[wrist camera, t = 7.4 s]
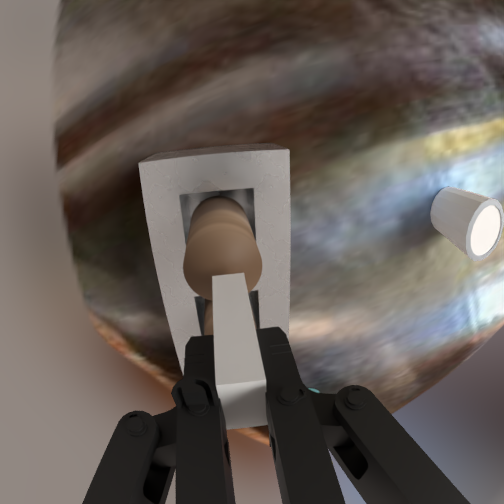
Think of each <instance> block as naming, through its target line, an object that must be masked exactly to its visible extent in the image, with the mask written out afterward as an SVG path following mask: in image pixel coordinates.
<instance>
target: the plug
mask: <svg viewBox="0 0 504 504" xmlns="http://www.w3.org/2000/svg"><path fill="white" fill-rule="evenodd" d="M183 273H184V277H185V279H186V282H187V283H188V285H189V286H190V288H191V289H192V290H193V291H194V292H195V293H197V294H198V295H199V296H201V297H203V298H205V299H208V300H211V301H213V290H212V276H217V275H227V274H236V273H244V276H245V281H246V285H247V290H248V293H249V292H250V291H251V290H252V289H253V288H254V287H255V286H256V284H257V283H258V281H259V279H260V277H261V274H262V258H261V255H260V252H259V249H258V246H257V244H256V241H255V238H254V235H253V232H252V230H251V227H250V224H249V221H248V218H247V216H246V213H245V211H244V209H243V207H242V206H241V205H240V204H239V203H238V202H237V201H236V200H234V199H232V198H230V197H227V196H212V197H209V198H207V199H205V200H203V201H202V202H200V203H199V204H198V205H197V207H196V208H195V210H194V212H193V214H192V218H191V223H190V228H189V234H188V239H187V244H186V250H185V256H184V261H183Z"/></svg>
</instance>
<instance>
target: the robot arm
mask: <svg viewBox="0 0 504 504" xmlns="http://www.w3.org/2000/svg"><path fill="white" fill-rule="evenodd" d="M212 290H213V330H214V335H204V336H192V337H190V339H189V341H188V342H187V344H186V345H185V358H184V375H183V379H182V380H180V381H178V382H177V383H176V384H175V386H174V387H173V389H172V392H171V394H172V397H173V399H174V401H175V404H176V407H174V408H173V409H171V410H169V411H167V412H165V413H161V414H158V415H154V416H151V415H150V414H149V413H146V412H144V411H133V412H129V413H128V414H126V415H124V416H123V417H122V418H121V419H120V421H119V422H118V424H117V427H116V429H115V431H114V433H113V435H112V437H111V439H110V442H109V444H108V446H107V448H106V451H105V453H104V455H103V457H102V459H101V462H100V464H99V466H98V468H97V471H96V473H95V475H94V477H93V480H92V482H91V484H90V487H89V489H88V491H87V494H86V496H85V499H84V501H83V503H82V504H165V502H166V498H167V495H168V492H169V488H170V485H171V482H172V479H173V475H174V472H175V469H176V504H236V503H235V496H234V488H233V478H232V469H231V460H230V451H229V442H228V439H227V431H226V429H237V428H247V427H255V426H262V425H268V427H269V439H270V447H271V448H272V453H273V458H274V464H275V469H276V474H277V479H278V484H279V488H280V493H281V498H282V503H283V504H345V501H344V497H343V495H342V491H341V488H340V485H339V482H338V479H337V476H336V472H335V470H334V467H333V463H332V460H331V457H330V454H329V451H330V452H331V453H332V455H333V456H334V458H335V459H336V461H337V462H338V464H339V465H340V466H341V468H342V470H343V471H344V472H345V474H346V475H347V477H348V478H349V479H350V481H351V482H352V484H353V485H354V487H355V488H356V489H357V491H358V492H359V494H360V495H361V496H362V498H363V499H364V501H365V502H366V503H367V504H470V503H469V502H468V501H467V499H466V498H465V497H464V496H463V495H462V494H461V493H460V492H459V491H458V490H457V488H456V487H455V486H454V485H453V484H452V483H451V481H450V480H449V479H448V478H447V477H446V476H445V475H444V474H443V472H442V471H441V470H440V469H439V468H438V467H437V466H436V464H435V463H434V462H433V461H432V460H431V459H430V458H429V457H428V455H427V454H426V453H425V452H424V451H423V450H422V449H421V448H420V446H419V445H418V444H417V443H416V442H415V441H414V440H413V438H412V437H411V436H410V435H409V434H408V433H407V432H406V431H405V429H404V428H403V427H402V426H401V425H400V424H399V423H398V422H397V420H396V419H395V418H394V417H393V416H392V415H391V414H390V412H389V411H388V410H387V409H386V408H385V407H384V406H383V404H382V403H381V402H380V401H379V400H378V399H377V398H376V397H375V395H374V394H373V393H372V392H371V391H370V390H368V389H367V388H365V387H362V386H359V385H351V386H347V387H344V388H343V389H341V390H340V391H339V392H338V393H337V394H323V393H317V392H314V391H312V390H310V389H308V388H307V387H306V386H305V385H304V384H303V383H302V381H301V378H300V375H299V372H298V369H297V366H296V363H295V360H294V357H293V354H292V351H291V347H290V345H289V341H288V338H287V335H286V333H285V332H284V331H283V330H282V329H281V328H280V327H279V326H277V327H269V328H261V329H255V325H254V320H253V315H252V310H251V305H250V300H249V295H248V290H247V285H246V281H245V276H244V273H236V274H227V275H217V276H212ZM328 449H329V451H328Z"/></svg>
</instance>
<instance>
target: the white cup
mask: <svg viewBox="0 0 504 504" xmlns="http://www.w3.org/2000/svg"><path fill="white" fill-rule="evenodd" d="M430 215H431V222H432V224H433V226H434V228H435V229H437V230H438V231H439V232H440V233H441V234H443V235H444V236H445V237H446V238H447V239H449V240H450V241H451V242H452V243H453V244H455V245H456V246H457V247H458V248H459V249H460V250H461V251H463V252H464V253H465V254H466V255H467V256H468V257H469V258H471V259H472V260H474V261H481V260H483V259H484V258H486V257H487V256H489V255H490V254H491V252H492V251H493V250H494V249H495V247H496V245H497V243H498V241H499V239H500V237H501V234H502V230H503V226H504V213H503V209H502V205H501V204H500V203H499V202H498V201H497V200H496V199H493V198H490V197H486V196H483V195H480V194H476V193H473V192H470V191H466V190H463V189H459V188H455V187H449V186H448V187H445V188H443V189H441V190H440V192H439V193H438V194H437V195H436V196H435V199H434V201H433V203H432V207H431V212H430Z"/></svg>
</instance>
